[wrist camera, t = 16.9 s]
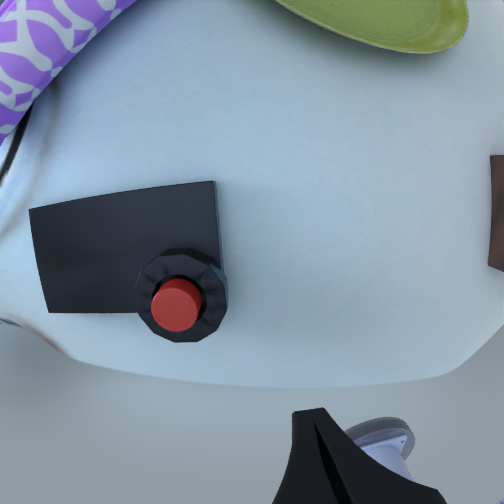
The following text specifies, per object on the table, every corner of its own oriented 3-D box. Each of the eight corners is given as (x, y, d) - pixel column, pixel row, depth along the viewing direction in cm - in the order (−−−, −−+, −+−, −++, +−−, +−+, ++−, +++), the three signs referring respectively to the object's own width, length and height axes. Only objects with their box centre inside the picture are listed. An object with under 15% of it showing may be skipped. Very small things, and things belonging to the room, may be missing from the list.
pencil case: (143, -59, 13) (116, -119, 4) (209, -27, 15) (196, -107, 6) (-21, 115, 16) (-90, 105, 7) (16, 172, 18) (-69, 176, 9)
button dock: (219, 180, 19) (214, 179, 15) (232, 316, 21) (230, 340, 17) (41, 207, 19) (13, 212, 15) (63, 320, 21) (41, 339, 17)
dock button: (198, 276, 17) (194, 286, 15) (204, 317, 17) (200, 331, 16) (155, 279, 17) (147, 289, 15) (162, 319, 17) (155, 332, 16)
